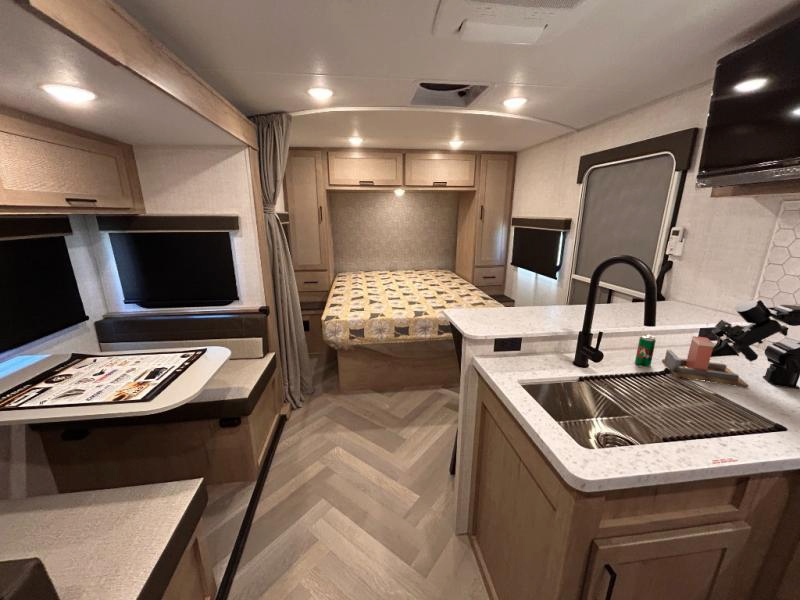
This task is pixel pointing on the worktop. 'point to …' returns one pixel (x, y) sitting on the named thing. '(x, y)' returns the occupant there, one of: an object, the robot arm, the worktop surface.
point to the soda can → (645, 350)
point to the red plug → (699, 353)
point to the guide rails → (675, 367)
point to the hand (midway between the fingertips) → (707, 355)
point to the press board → (723, 381)
